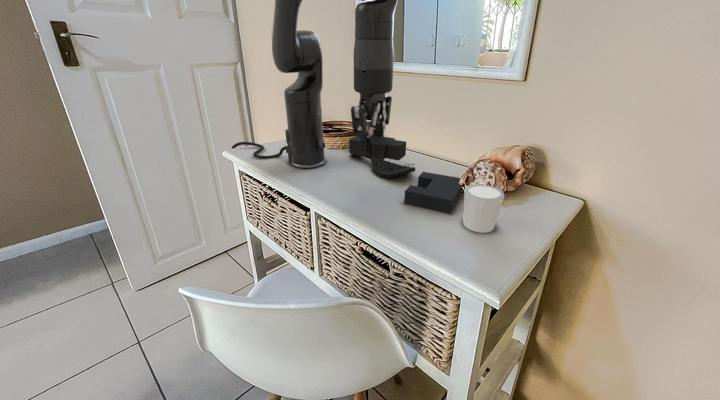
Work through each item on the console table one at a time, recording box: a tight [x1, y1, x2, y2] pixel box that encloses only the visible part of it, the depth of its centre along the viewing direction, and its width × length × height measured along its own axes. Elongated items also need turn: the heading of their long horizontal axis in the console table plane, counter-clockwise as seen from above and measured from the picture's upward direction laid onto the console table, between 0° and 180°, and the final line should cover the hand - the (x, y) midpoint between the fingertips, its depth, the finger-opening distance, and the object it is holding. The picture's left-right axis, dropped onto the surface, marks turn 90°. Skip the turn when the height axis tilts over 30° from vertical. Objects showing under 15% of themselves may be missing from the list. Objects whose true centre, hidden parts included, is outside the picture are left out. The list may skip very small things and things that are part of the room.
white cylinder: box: [462, 183, 506, 234], centre depth 61 cm, size 7×7×7 cm
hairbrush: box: [350, 154, 416, 178], centre depth 90 cm, size 8×4×25 cm
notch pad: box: [403, 171, 464, 214], centre depth 73 cm, size 10×12×3 cm
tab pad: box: [348, 134, 407, 162], centre depth 70 cm, size 11×6×3 cm, turn 62°
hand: (371, 150), depth 71 cm, fingers closed on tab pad, 5 cm apart
